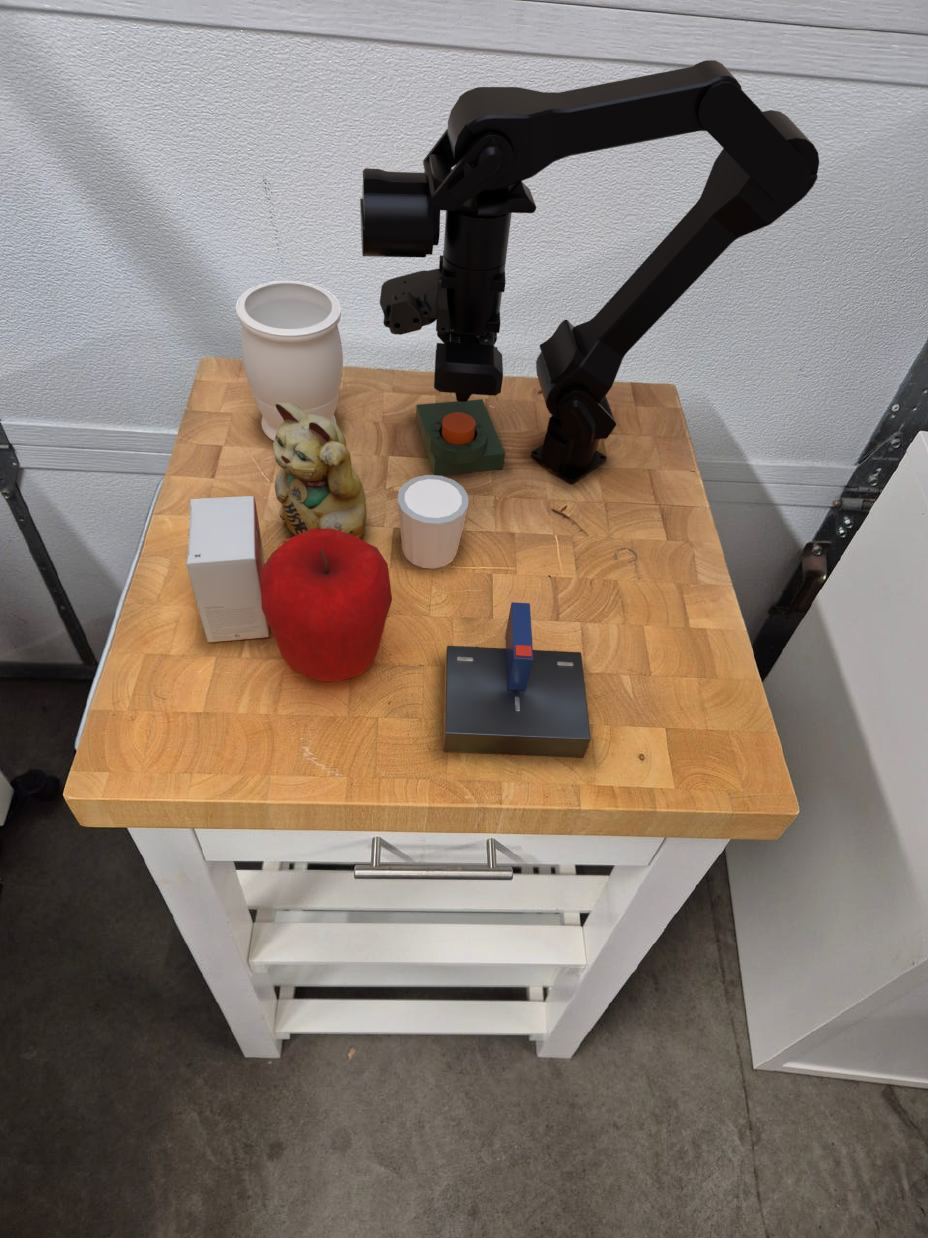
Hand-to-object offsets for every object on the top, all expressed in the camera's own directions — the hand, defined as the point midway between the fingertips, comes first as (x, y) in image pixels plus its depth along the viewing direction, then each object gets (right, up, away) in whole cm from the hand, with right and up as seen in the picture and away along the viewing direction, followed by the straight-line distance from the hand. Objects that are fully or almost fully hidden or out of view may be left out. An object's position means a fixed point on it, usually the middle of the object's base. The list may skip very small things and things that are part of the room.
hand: (461, 399), depth 86 cm
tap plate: (+4, -30, -13) cm, 33 cm away
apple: (-12, -27, -12) cm, 31 cm away
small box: (-21, -22, -9) cm, 32 cm away
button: (0, -3, +4) cm, 5 cm away
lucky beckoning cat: (-14, -14, -2) cm, 20 cm away
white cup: (-3, -16, -2) cm, 17 cm away
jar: (-19, -1, +8) cm, 21 cm away
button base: (0, -3, +8) cm, 9 cm away
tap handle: (+5, -27, -15) cm, 31 cm away
